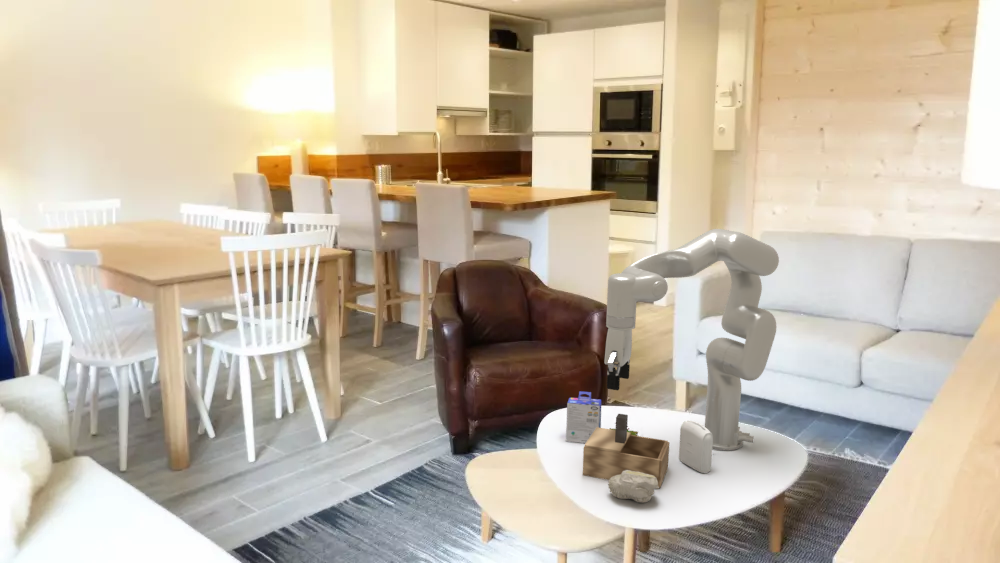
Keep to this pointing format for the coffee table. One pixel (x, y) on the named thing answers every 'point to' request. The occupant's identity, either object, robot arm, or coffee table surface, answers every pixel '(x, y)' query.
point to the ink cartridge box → (582, 417)
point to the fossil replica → (633, 486)
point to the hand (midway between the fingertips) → (618, 383)
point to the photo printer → (696, 446)
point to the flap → (610, 436)
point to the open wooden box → (629, 459)
